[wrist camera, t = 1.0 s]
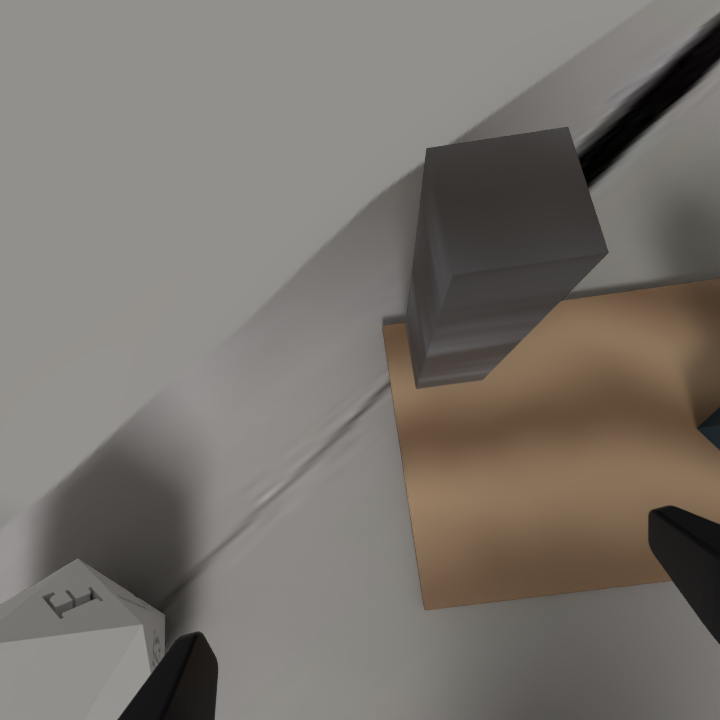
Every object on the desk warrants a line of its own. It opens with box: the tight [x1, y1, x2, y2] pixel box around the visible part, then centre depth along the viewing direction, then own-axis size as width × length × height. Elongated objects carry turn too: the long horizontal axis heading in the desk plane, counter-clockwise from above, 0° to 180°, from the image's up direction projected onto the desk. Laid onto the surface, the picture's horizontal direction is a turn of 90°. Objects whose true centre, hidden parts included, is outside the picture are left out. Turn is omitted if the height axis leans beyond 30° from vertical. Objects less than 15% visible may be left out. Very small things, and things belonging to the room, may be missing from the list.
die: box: [0, 558, 165, 720], centre depth 16 cm, size 8×9×10 cm
